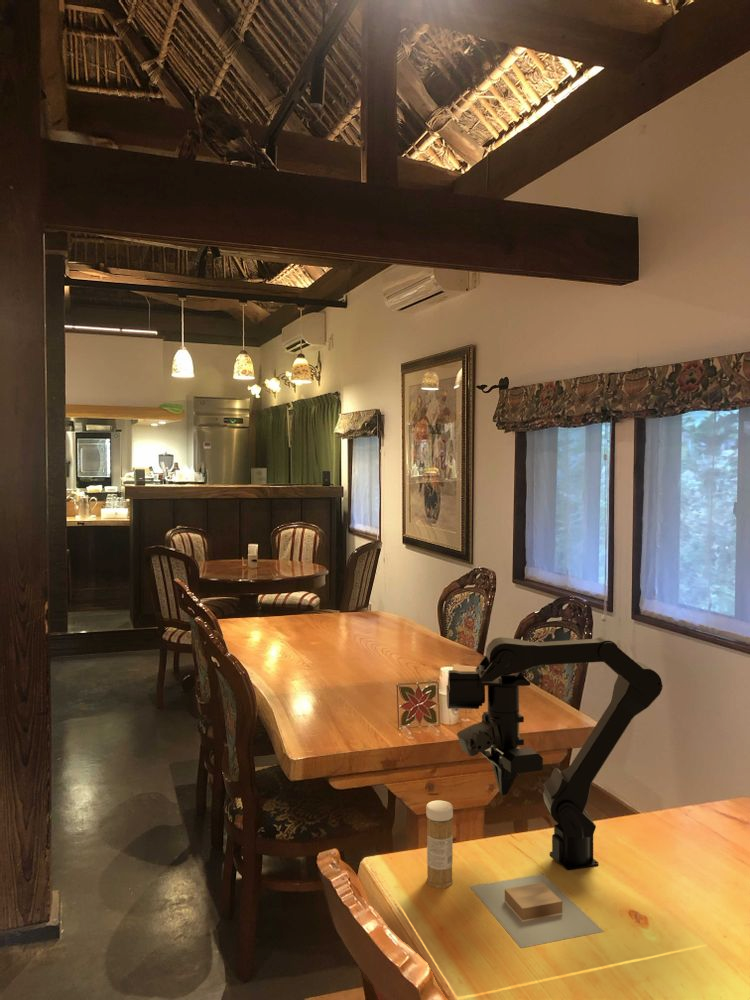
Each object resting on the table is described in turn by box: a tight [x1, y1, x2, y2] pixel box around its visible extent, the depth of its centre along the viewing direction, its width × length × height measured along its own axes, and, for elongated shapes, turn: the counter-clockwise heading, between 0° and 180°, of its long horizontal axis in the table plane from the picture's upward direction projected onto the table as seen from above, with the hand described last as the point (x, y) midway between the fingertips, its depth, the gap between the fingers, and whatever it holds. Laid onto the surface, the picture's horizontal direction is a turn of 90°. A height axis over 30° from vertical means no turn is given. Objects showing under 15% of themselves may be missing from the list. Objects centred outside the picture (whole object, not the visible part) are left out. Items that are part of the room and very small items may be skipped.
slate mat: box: [469, 873, 605, 949], centre depth 117 cm, size 14×18×1 cm
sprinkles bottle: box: [425, 799, 454, 889], centre depth 125 cm, size 5×5×14 cm
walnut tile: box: [505, 883, 562, 921], centre depth 117 cm, size 7×2×6 cm
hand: (503, 794), depth 133 cm, fingers closed
